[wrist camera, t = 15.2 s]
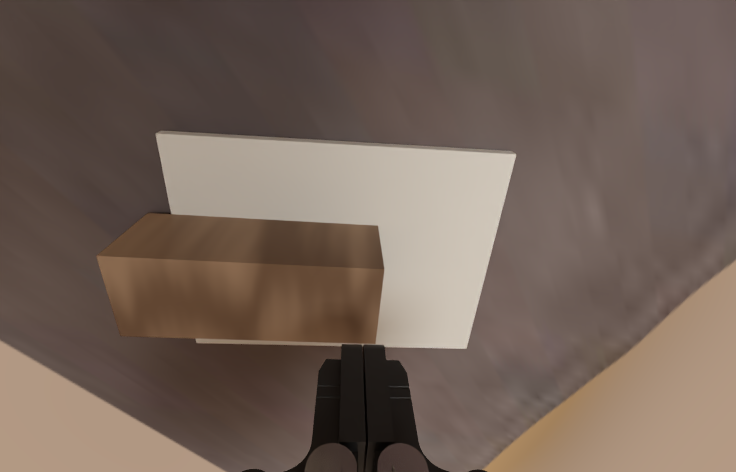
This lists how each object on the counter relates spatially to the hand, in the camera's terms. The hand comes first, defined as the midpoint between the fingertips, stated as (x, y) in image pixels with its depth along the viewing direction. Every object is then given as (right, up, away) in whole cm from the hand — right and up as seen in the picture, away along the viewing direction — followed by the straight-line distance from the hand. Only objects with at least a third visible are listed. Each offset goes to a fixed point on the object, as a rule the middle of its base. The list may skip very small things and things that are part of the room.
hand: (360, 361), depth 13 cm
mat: (-1, +4, +7) cm, 8 cm away
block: (+1, +2, +4) cm, 5 cm away
